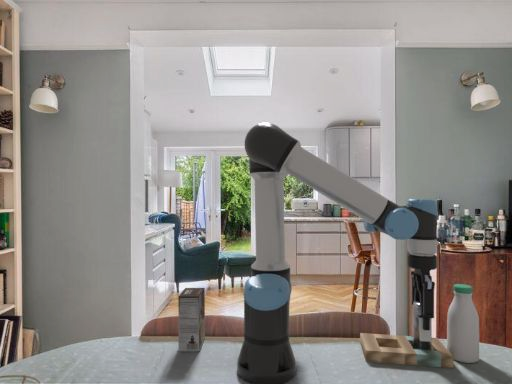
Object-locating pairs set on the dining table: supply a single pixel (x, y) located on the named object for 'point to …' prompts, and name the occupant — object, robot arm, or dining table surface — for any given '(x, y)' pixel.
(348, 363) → the dining table surface
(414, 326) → the bushing
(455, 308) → the milk bottle
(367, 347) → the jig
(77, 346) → the dining table surface
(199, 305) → the coffee box
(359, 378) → the dining table surface
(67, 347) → the dining table surface
